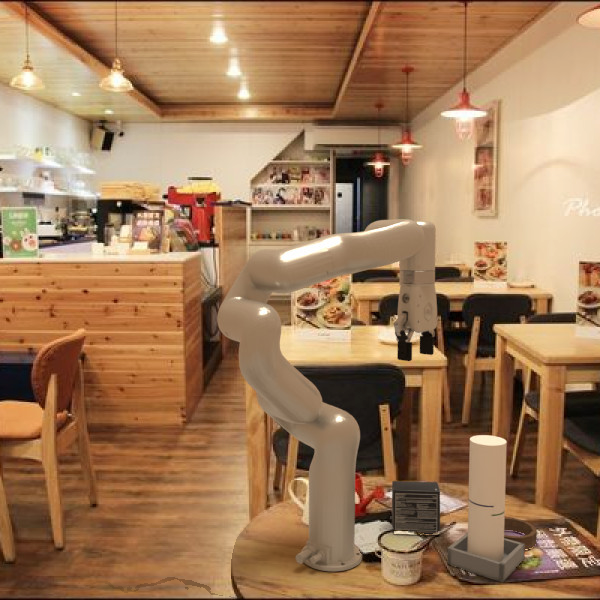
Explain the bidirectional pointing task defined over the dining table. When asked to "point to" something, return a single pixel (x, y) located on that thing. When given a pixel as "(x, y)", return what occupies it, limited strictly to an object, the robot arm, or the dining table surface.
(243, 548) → the dining table surface
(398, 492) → the small box
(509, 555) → the tray
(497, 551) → the cylindrical container
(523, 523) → the collar
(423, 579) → the dining table surface
